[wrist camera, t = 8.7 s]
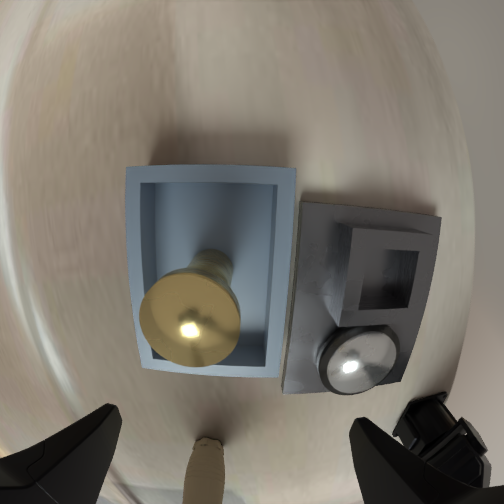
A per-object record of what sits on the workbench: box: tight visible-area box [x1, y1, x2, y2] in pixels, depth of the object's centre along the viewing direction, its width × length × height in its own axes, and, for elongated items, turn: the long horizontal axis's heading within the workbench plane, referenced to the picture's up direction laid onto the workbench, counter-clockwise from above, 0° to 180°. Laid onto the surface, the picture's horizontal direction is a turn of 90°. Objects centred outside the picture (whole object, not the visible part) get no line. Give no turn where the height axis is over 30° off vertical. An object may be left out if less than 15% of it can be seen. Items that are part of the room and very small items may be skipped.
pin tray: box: [125, 164, 296, 377], centre depth 18 cm, size 10×14×4 cm
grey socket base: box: [281, 201, 442, 395], centre depth 19 cm, size 12×16×4 cm
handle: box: [183, 438, 225, 504], centre depth 17 cm, size 5×6×15 cm
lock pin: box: [139, 249, 241, 367], centre depth 15 cm, size 4×4×8 cm
